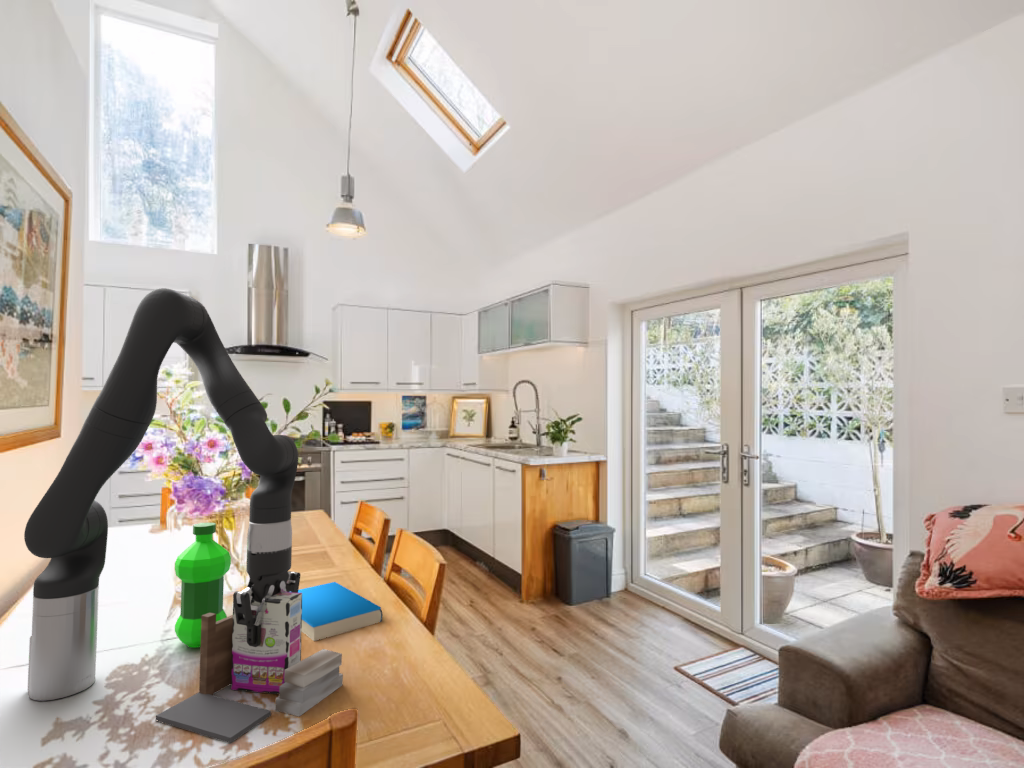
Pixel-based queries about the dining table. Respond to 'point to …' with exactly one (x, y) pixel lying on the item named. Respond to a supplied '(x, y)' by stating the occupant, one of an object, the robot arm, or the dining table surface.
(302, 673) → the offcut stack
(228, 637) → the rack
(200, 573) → the plastic bottle
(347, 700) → the dining table surface
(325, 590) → the book
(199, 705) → the mat
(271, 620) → the candy bar box
